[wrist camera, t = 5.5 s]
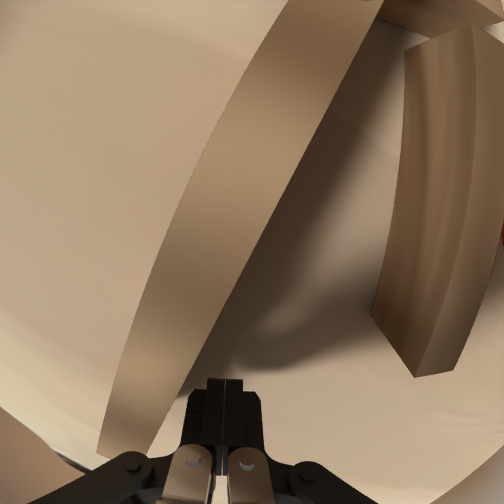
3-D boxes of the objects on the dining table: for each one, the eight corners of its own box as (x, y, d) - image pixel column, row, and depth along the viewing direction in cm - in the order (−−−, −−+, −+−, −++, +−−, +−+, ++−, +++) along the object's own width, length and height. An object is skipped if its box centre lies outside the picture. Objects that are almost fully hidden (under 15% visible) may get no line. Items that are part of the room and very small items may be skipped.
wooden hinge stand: (240, 315, 13) (244, 408, 8) (266, -42, 8) (284, -121, 3) (405, 314, 14) (463, 382, 9) (436, 5, 9) (507, -29, 4)
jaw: (301, -3, 8) (344, -82, 3) (347, 22, 9) (416, -40, 4) (117, 392, 14) (89, 473, 9) (152, 406, 14) (133, 490, 9)
